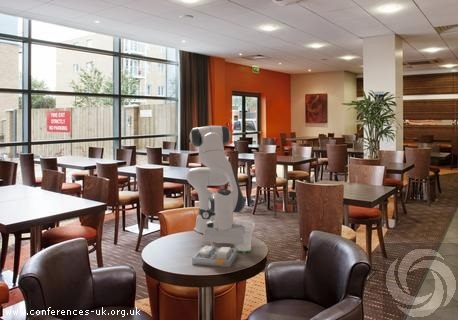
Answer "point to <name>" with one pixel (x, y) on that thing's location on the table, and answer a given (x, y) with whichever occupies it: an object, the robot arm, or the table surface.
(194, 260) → the tray
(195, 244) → the table surface
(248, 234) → the cup
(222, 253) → the white rectangular block
